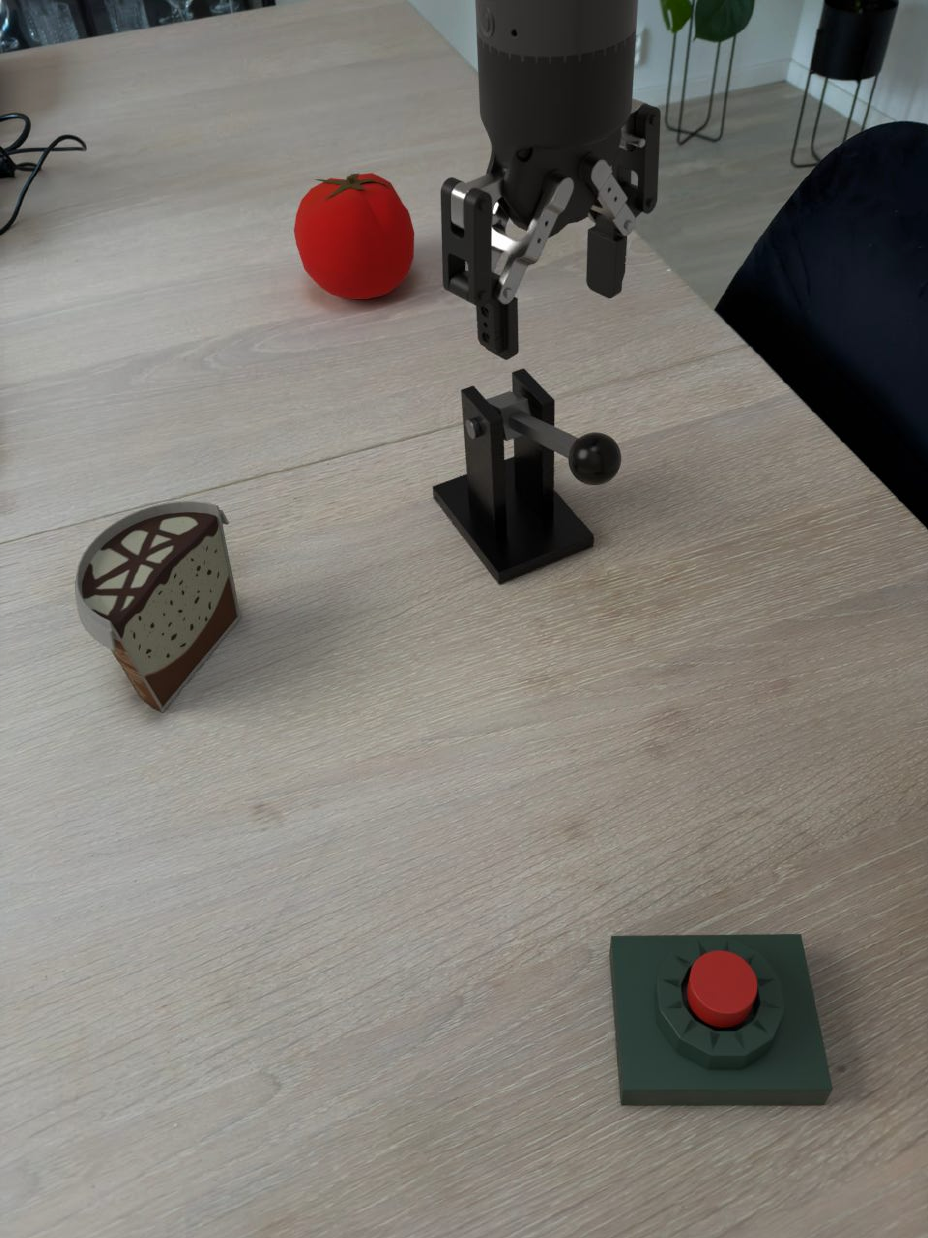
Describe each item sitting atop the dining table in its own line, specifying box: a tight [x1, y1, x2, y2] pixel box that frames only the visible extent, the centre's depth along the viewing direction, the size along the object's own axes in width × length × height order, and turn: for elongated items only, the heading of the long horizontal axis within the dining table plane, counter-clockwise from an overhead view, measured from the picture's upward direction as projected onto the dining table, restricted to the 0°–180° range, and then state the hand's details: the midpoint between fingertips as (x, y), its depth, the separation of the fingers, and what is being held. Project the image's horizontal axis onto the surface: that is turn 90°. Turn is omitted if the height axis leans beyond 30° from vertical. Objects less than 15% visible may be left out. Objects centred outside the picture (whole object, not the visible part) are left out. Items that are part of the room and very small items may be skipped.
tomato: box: [293, 172, 415, 300], centre depth 104 cm, size 12×12×11 cm
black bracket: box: [432, 367, 595, 585], centre depth 79 cm, size 11×8×12 cm
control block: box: [608, 933, 834, 1106], centre depth 55 cm, size 10×8×4 cm
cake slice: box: [74, 500, 242, 714], centre depth 73 cm, size 12×6×10 cm, turn 154°
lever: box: [485, 390, 622, 487], centre depth 71 cm, size 15×3×3 cm, turn 27°
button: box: [687, 951, 757, 1028], centre depth 54 cm, size 3×3×2 cm
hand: (553, 320), depth 63 cm, fingers open, 8 cm apart
